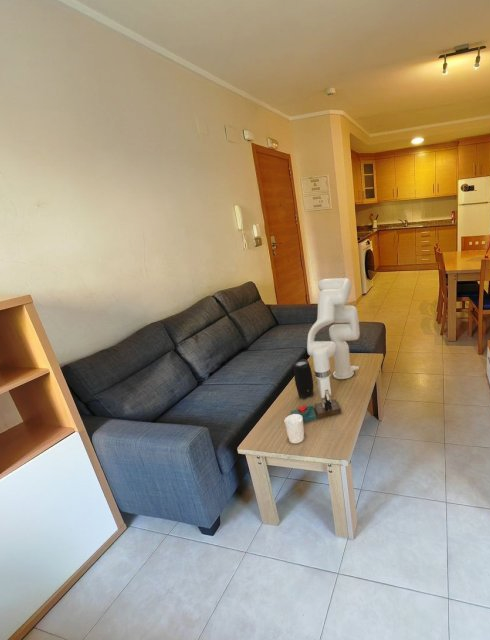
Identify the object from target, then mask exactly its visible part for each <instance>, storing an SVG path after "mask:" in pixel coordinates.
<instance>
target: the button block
mask: <svg viewBox="0 0 490 640" xmlns="http://www.w3.org/2000/svg"><path fill="white" fill-rule="evenodd" d="M305 406H306V405H305ZM292 414H300V415H301V416H302V417H303V424H304V423H308V422H312V421H315V420H317V413H316V410H315V407H314V406H313V405H310V406H306V411H305V412H303V413H301V412H299V407H297V408H296V409H293V410H290V415H292Z"/></svg>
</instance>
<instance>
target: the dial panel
mask: <svg viewBox="0 0 490 640" xmlns="http://www.w3.org/2000/svg"><path fill="white" fill-rule="evenodd" d="M313 405H314V411H315V414H316V417H317V418H318V420H321V419H323V418H324V419H325V418H328V417H332V416H336V415H341V414H342V413H341V411H342V410H341V407H340V405H339V403H338V401H337V399H336V398H335V399H331V407H332V408H331V409H328V410H325V408H323V406H322V401H321V402H318V403H317V402H316V403H313Z"/></svg>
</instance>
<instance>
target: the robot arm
mask: <svg viewBox="0 0 490 640" xmlns="http://www.w3.org/2000/svg"><path fill="white" fill-rule="evenodd" d="M317 286H318V290H319V292H318V294H317V316H316V317H317V318H316V321H315V322H314V323H313V324H312V326H311V327H310V328H309V331H308V333H307V337H306V338H307V341H306V349H307V350H306V352H307V355H308V356H310V357H312V362H313V370H314V377H315V378H316V380H317V381H316V382H317V391H318V394H319V396H320V398H321V399H322V398H324V401H325V402H324V406H325V410H328V409H331V408H332V407H331V401H330V397H331V396H332V389H331V381H330V380H331V379H330V377H331V375H332V377H333V378H334V379H336V380H347V379H350V378H352V377H353V376H354V374H355V371H358V370H359V369H360V367H359V366H358V365H357V366H356V365H351V356H350V347H349V344H348V343H347V341H351V342H352V341H357V340H359V338H360V336H361V332H360V331H361V330H360V321H359V313H358V312H359V311H358V309H357V306H355V305H347V303H348V301H349V300H348V299H349V298H350V295H351V290H352V282H351V280H350V278H348V277H334V278H333V277H332V278H331V277H329V278H322V279H320V280H319V281H318V285H317ZM331 324H332V325H331ZM327 326H330V327H328V335H329V339H330V340H315V339H316V335H317V333H318V332H319V331H320V330H322V329H323V328H325V327H327ZM331 358H333V366H334V371H333V372H331V364H330V359H331ZM325 398H327V399H325Z"/></svg>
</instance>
